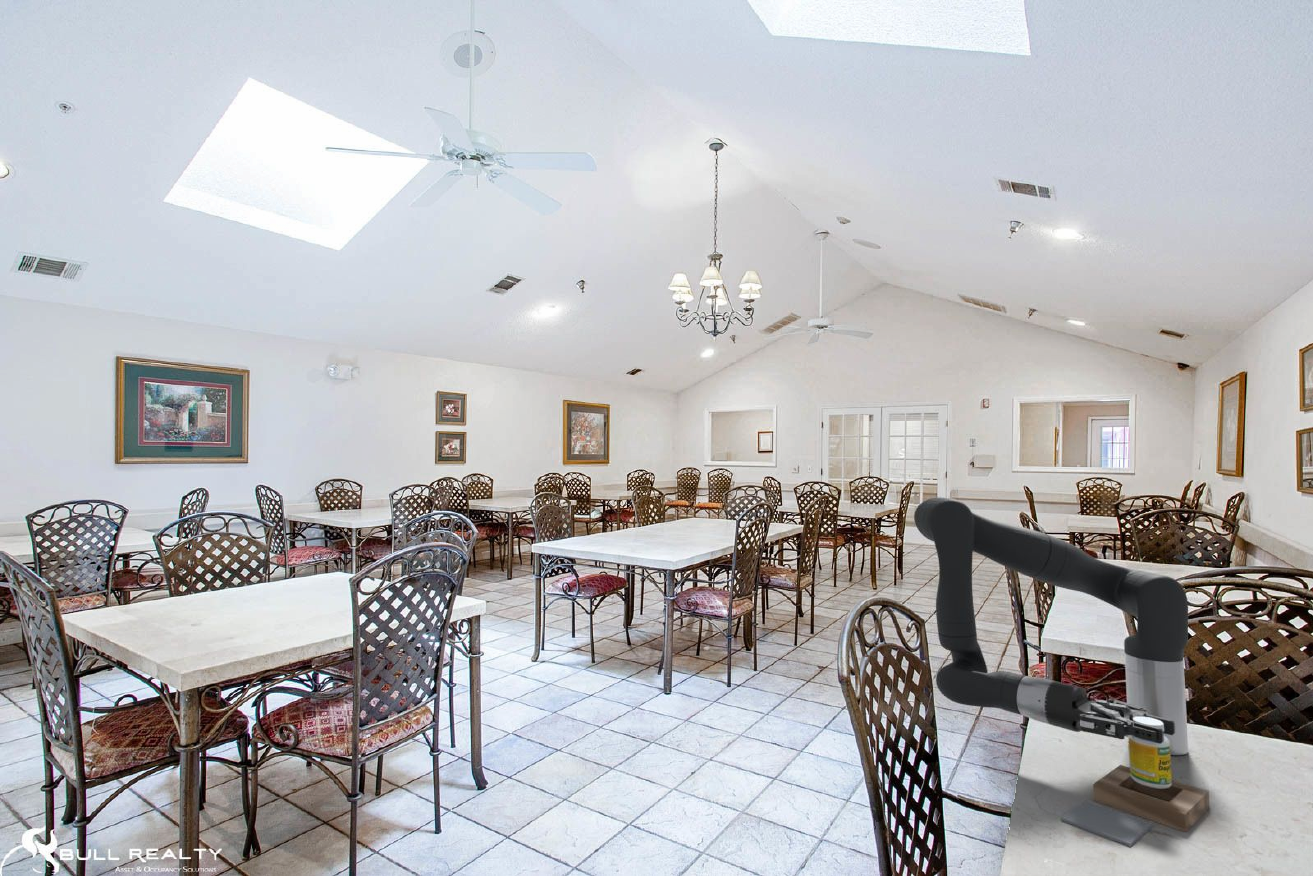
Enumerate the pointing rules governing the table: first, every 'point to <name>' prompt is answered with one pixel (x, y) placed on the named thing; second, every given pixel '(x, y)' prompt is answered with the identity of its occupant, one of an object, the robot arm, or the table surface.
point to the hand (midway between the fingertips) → (1168, 732)
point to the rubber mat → (1107, 822)
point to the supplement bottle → (1150, 758)
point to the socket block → (1152, 799)
